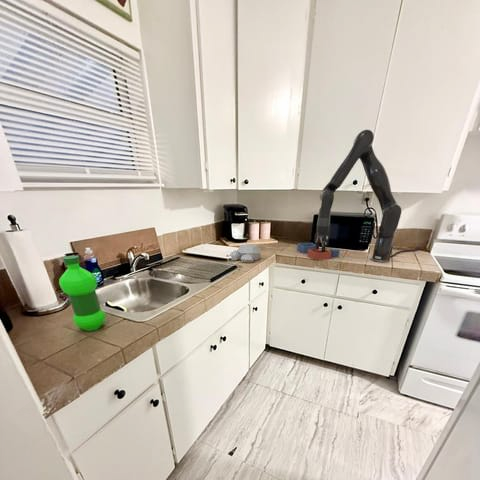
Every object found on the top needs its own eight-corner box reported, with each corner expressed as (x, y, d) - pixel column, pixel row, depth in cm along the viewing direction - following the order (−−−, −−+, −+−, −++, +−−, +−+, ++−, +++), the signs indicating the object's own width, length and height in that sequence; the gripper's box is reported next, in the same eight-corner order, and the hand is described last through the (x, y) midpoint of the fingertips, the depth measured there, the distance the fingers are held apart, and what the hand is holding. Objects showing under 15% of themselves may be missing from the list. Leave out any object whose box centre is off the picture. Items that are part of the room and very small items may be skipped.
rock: (254, 264, 159) (254, 248, 155) (225, 261, 167) (225, 245, 162) (264, 257, 174) (265, 242, 169) (237, 254, 181) (237, 240, 176)
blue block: (335, 255, 178) (336, 248, 176) (338, 256, 174) (339, 250, 172) (329, 255, 177) (330, 249, 175) (332, 257, 173) (333, 250, 171)
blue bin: (310, 248, 195) (311, 242, 193) (317, 252, 185) (318, 245, 183) (296, 249, 193) (297, 243, 191) (303, 253, 183) (303, 246, 181)
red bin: (322, 254, 179) (323, 248, 177) (330, 258, 170) (331, 252, 168) (307, 255, 177) (308, 249, 175) (314, 259, 168) (315, 253, 166)
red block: (320, 255, 176) (321, 248, 174) (323, 257, 172) (324, 250, 170) (314, 255, 175) (314, 249, 173) (317, 257, 171) (318, 250, 169)
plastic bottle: (97, 335, 87) (73, 262, 75) (69, 333, 89) (42, 260, 77) (114, 321, 96) (96, 253, 84) (89, 319, 97) (67, 252, 85)
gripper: (334, 226, 158) (330, 252, 166) (323, 223, 171) (320, 248, 178) (323, 226, 157) (319, 253, 165) (312, 223, 169) (309, 248, 177)
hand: (320, 250), depth 171 cm, fingers open, 8 cm apart
